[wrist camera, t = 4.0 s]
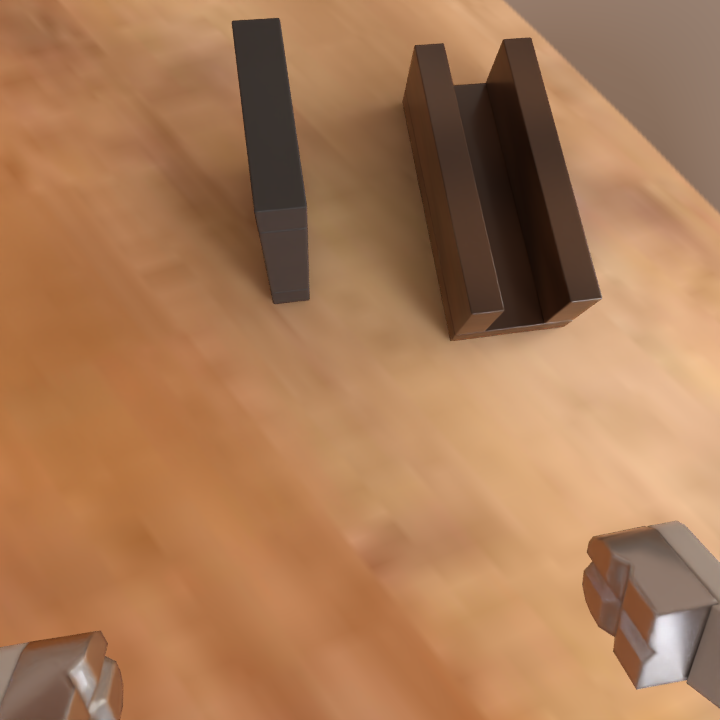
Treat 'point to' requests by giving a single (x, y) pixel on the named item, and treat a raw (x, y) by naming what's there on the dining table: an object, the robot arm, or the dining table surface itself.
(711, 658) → the robot arm
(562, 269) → the holder
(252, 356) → the dining table surface
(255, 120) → the frame
